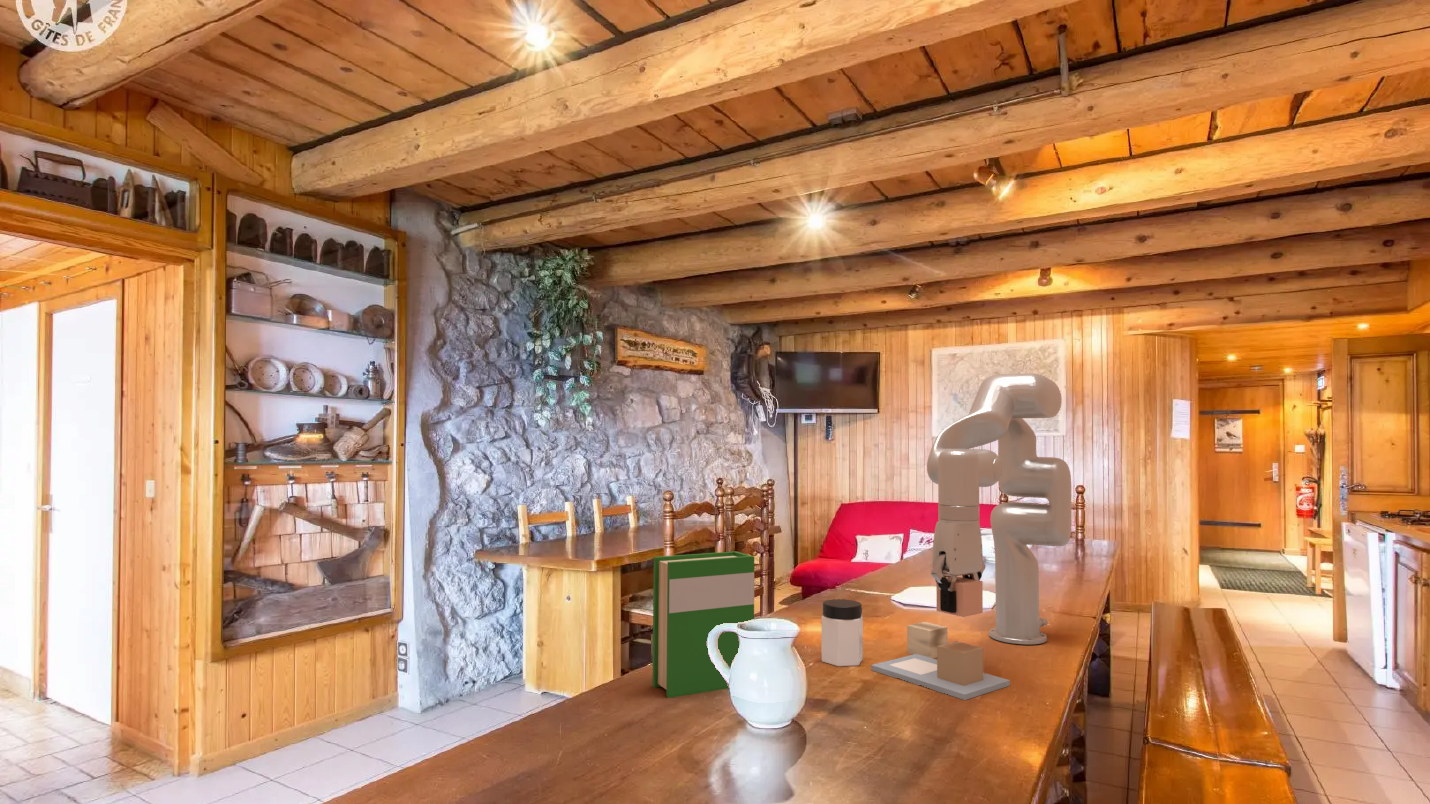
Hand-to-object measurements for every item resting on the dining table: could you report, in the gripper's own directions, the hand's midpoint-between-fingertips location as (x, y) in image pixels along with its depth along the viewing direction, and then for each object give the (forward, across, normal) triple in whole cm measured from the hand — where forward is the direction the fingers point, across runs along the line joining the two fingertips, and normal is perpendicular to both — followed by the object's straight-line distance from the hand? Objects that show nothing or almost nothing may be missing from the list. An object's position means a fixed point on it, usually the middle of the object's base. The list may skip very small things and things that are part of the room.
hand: (959, 608), depth 147 cm
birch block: (+14, -12, -17) cm, 25 cm away
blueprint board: (+14, 0, -5) cm, 15 cm away
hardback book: (+15, +40, -28) cm, 51 cm away
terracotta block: (+1, 0, 0) cm, 1 cm away
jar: (+14, +7, -24) cm, 29 cm away
